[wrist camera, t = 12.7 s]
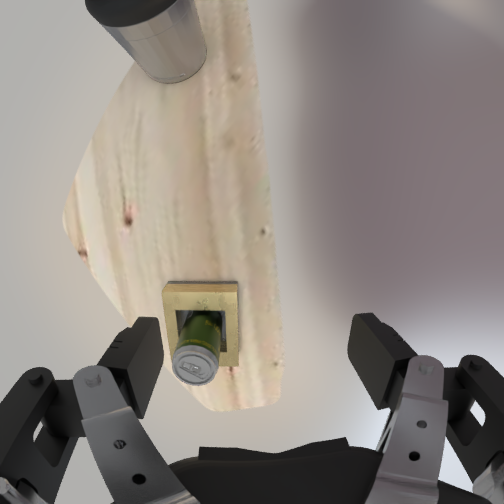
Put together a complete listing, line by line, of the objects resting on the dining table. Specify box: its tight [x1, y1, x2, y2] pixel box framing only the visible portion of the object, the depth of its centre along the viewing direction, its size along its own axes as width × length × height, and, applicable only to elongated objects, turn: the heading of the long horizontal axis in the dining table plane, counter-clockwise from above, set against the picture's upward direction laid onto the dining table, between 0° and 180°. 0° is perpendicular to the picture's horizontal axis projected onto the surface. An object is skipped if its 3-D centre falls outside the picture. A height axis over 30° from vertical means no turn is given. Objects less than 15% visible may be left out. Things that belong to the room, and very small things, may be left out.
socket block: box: [162, 281, 239, 366], centre depth 39 cm, size 12×10×4 cm
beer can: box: [172, 310, 223, 386], centre depth 34 cm, size 5×5×12 cm
